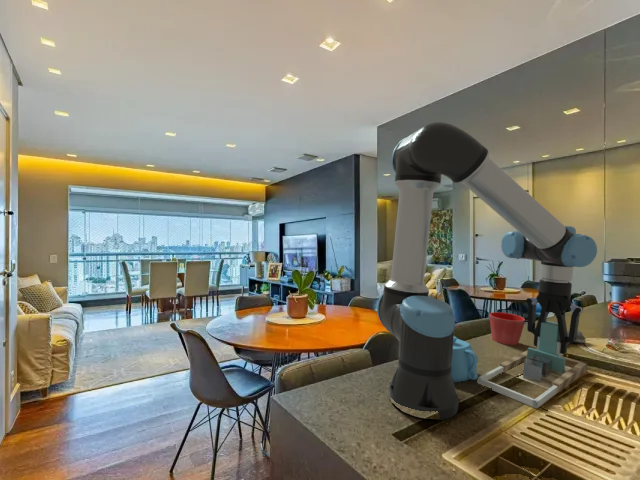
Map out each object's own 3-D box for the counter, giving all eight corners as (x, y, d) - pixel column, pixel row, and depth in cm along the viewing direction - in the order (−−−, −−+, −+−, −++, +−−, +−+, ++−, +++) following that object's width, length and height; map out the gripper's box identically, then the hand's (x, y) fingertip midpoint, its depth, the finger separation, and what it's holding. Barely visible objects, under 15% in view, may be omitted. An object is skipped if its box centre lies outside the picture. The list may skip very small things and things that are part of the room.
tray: (536, 412, 75) (537, 401, 75) (476, 387, 86) (477, 377, 86) (557, 396, 83) (557, 386, 83) (499, 374, 94) (500, 365, 93)
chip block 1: (540, 382, 87) (542, 367, 87) (522, 377, 90) (524, 363, 90) (542, 377, 91) (543, 362, 90) (524, 372, 93) (525, 358, 93)
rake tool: (562, 373, 92) (566, 330, 91) (526, 361, 99) (529, 321, 98) (569, 368, 95) (573, 326, 94) (533, 357, 102) (537, 318, 101)
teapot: (436, 323, 104) (493, 342, 88) (434, 357, 104) (490, 381, 89) (407, 329, 97) (463, 350, 82) (405, 365, 98) (460, 393, 82)
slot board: (558, 396, 83) (559, 384, 82) (499, 374, 94) (499, 363, 94) (586, 373, 96) (587, 363, 96) (532, 356, 107) (532, 347, 107)
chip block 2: (545, 377, 91) (546, 363, 90) (529, 371, 94) (530, 357, 93) (551, 373, 93) (552, 359, 93) (534, 368, 96) (536, 354, 96)
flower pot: (502, 336, 125) (504, 310, 125) (530, 347, 115) (532, 319, 115) (480, 339, 122) (482, 312, 121) (507, 350, 112) (509, 321, 111)
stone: (558, 348, 116) (559, 337, 116) (534, 339, 125) (534, 328, 125) (591, 345, 120) (592, 334, 119) (565, 336, 129) (565, 326, 129)
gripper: (597, 284, 91) (589, 368, 93) (527, 274, 105) (522, 348, 106) (588, 287, 87) (580, 375, 88) (517, 276, 100) (511, 353, 102)
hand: (548, 360), depth 97 cm, fingers closed on rake tool, 4 cm apart
